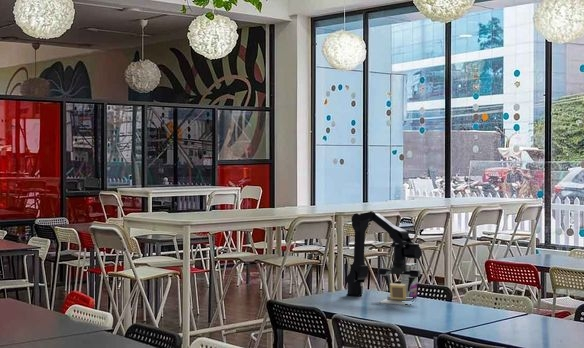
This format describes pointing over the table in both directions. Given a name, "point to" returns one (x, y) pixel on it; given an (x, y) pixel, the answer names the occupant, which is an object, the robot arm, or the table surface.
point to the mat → (395, 301)
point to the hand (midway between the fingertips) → (398, 291)
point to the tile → (398, 291)
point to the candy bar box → (405, 280)
